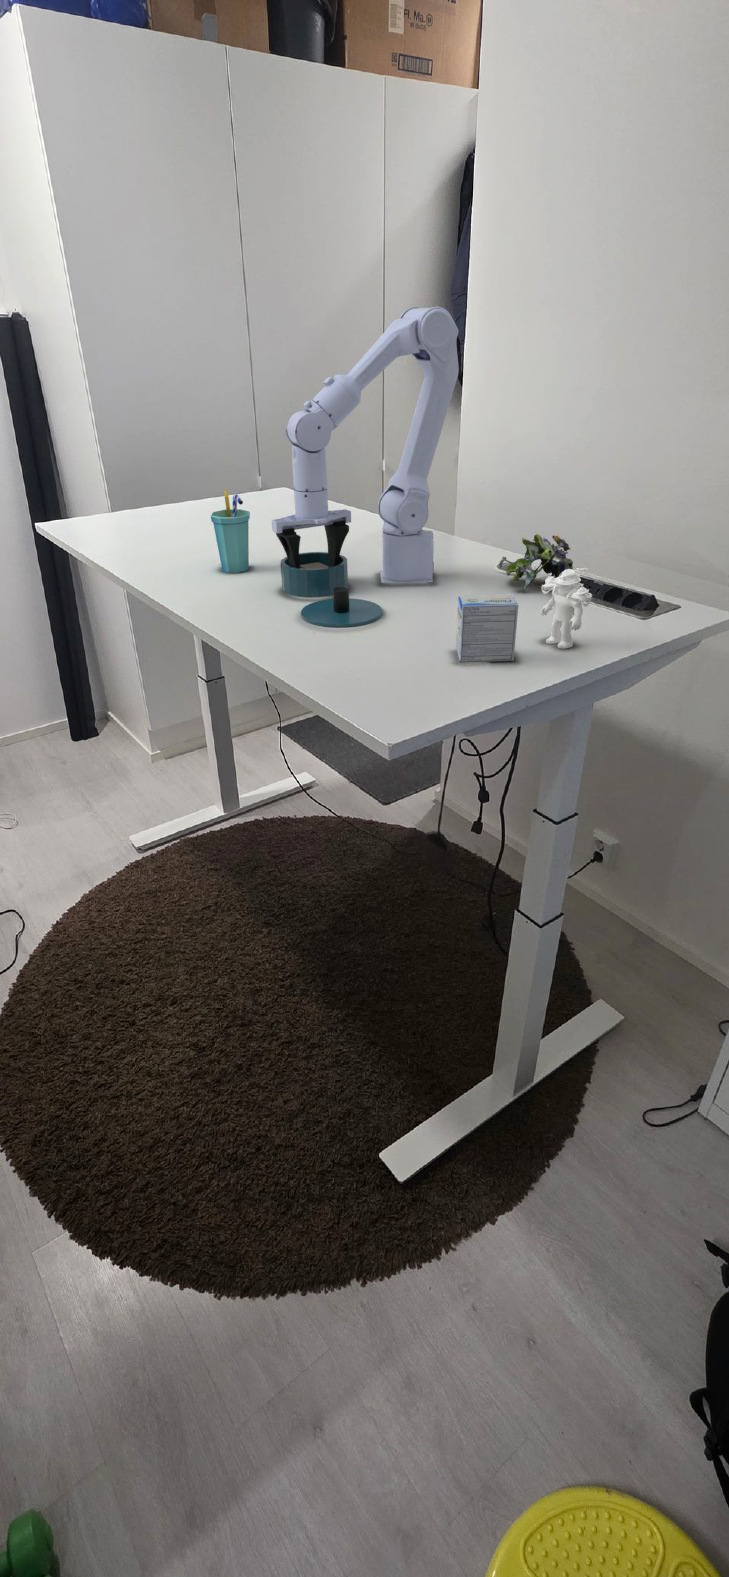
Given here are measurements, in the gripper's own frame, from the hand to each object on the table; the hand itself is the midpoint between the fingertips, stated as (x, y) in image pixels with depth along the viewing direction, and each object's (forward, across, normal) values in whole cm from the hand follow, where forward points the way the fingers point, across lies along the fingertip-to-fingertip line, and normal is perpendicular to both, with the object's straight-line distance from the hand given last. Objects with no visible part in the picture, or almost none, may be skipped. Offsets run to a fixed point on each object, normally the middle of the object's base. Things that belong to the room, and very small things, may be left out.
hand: (314, 568), depth 145 cm
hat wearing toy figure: (+4, +18, -44) cm, 48 cm away
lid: (+3, -3, -16) cm, 16 cm away
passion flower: (+4, +34, -21) cm, 40 cm away
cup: (+4, -7, +20) cm, 22 cm away
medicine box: (+4, +6, -42) cm, 43 cm away
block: (+4, 0, 0) cm, 4 cm away
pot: (+4, 0, 0) cm, 4 cm away
